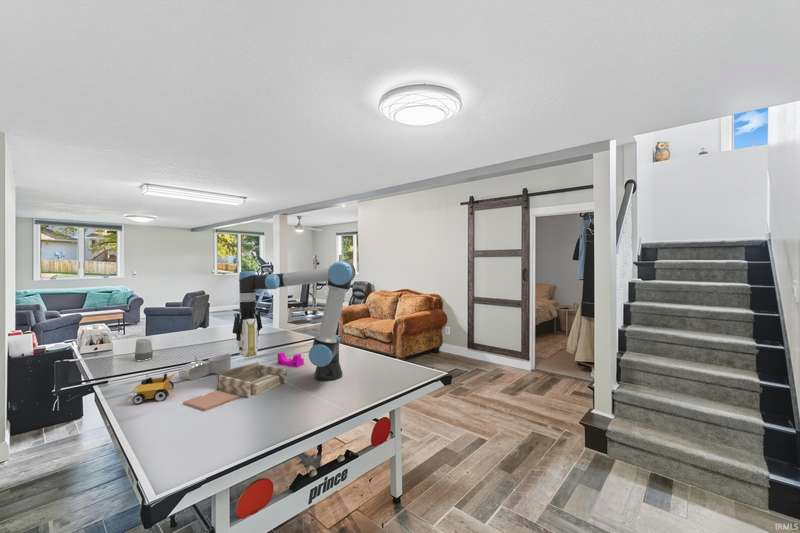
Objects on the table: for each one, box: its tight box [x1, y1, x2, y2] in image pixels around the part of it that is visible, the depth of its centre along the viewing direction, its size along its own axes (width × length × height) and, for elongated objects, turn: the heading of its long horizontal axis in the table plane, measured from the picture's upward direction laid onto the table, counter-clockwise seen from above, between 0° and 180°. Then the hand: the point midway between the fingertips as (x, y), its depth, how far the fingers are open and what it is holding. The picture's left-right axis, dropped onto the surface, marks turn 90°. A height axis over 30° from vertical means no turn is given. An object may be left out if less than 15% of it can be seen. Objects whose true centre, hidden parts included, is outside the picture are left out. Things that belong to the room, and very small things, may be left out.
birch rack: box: [216, 361, 288, 399], centre depth 175 cm, size 23×23×8 cm
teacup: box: [207, 353, 232, 375], centre depth 194 cm, size 12×15×10 cm
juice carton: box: [238, 318, 258, 358], centre depth 177 cm, size 8×9×19 cm
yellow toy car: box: [131, 372, 176, 405], centre depth 161 cm, size 15×15×11 cm
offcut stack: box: [250, 375, 281, 396], centre depth 171 cm, size 7×16×5 cm, turn 156°
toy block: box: [277, 351, 305, 368], centre depth 212 cm, size 15×6×8 cm, turn 67°
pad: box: [182, 389, 240, 412], centre depth 156 cm, size 16×16×1 cm
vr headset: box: [178, 356, 213, 381], centre depth 187 cm, size 14×9×11 cm, turn 150°
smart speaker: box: [134, 338, 153, 361], centre depth 224 cm, size 10×9×14 cm
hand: (248, 344), depth 177 cm, fingers closed on juice carton, 9 cm apart
